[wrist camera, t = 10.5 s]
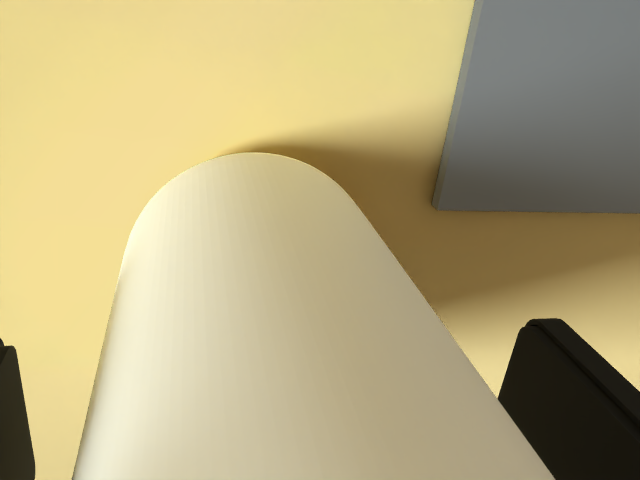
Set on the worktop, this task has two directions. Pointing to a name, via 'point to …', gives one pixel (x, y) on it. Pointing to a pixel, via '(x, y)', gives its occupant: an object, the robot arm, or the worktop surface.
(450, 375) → the beverage can
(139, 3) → the worktop surface
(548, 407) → the robot arm
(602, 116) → the mat
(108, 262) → the worktop surface
